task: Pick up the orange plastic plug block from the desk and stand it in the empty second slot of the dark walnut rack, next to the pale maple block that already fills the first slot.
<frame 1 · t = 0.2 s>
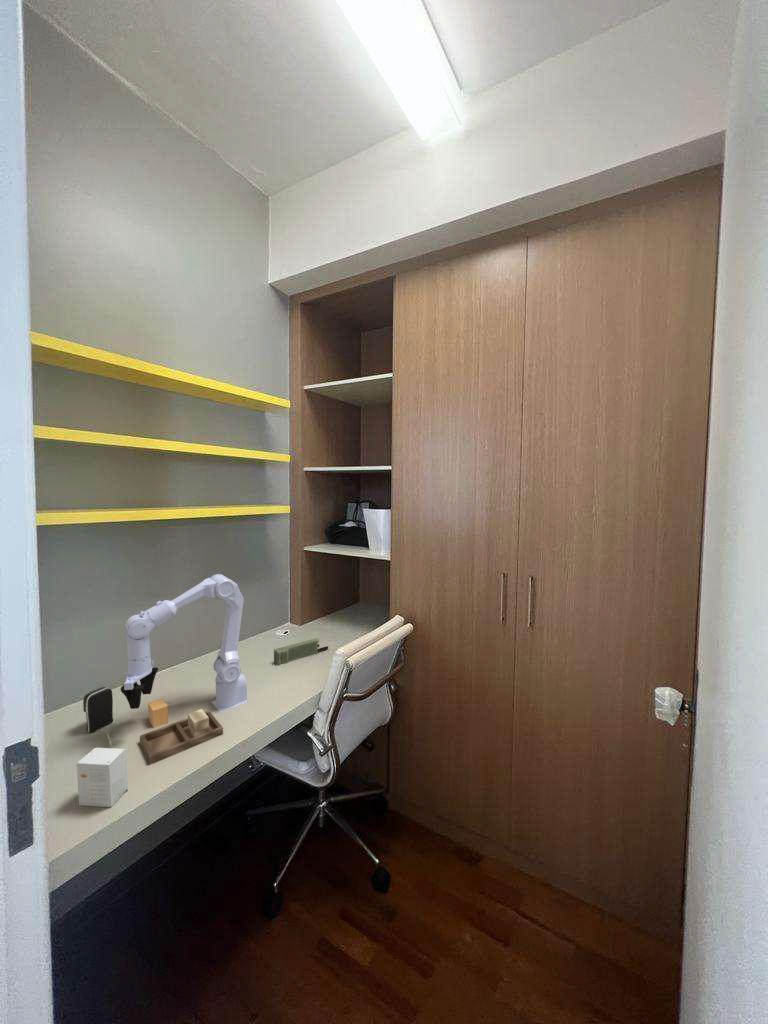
hand: (141, 700, 116), 10 cm above the table, tool pointing down, fingers open, 7 cm apart
slot rack: (182, 740, 114), on the table
plug block: (158, 722, 122), on the table
maple block: (198, 731, 117), point 1 cm above the table, touching slot rack
battery charger: (98, 726, 120), on the table
small box: (103, 798, 93), on the table
handheld radio: (302, 657, 170), on the table
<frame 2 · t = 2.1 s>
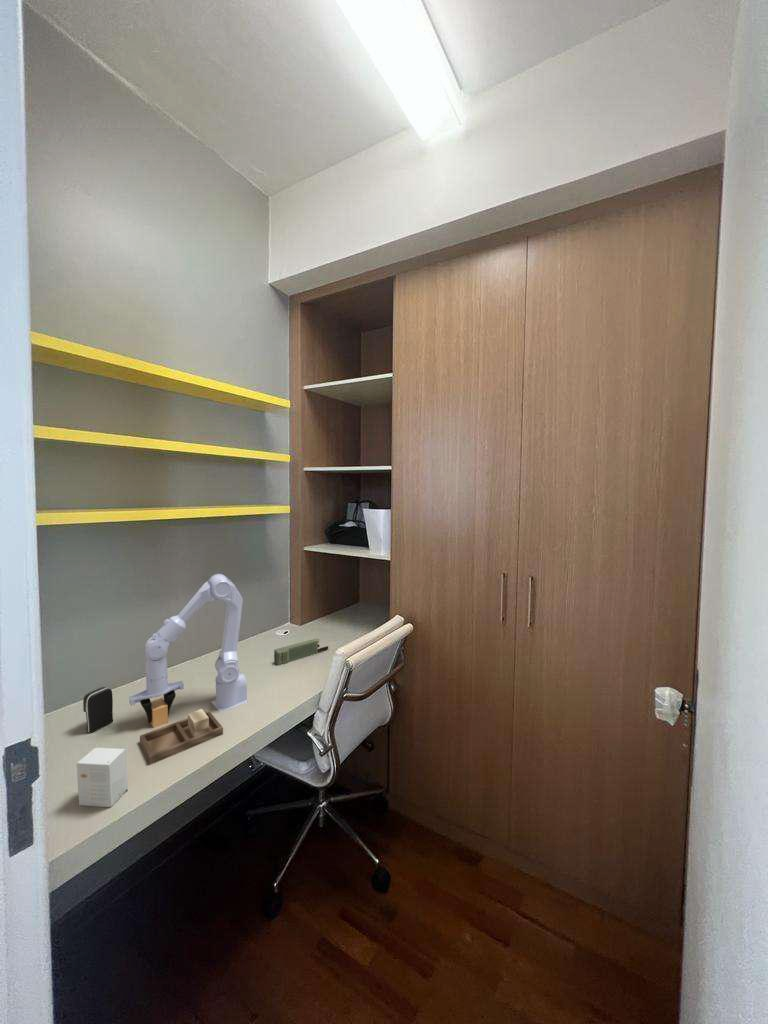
hand: (158, 718, 122), 1 cm above the table, tool pointing down, fingers closed on plug block, 4 cm apart
plug block: (158, 722, 122), on the table, touching gripper
everything else where it was.
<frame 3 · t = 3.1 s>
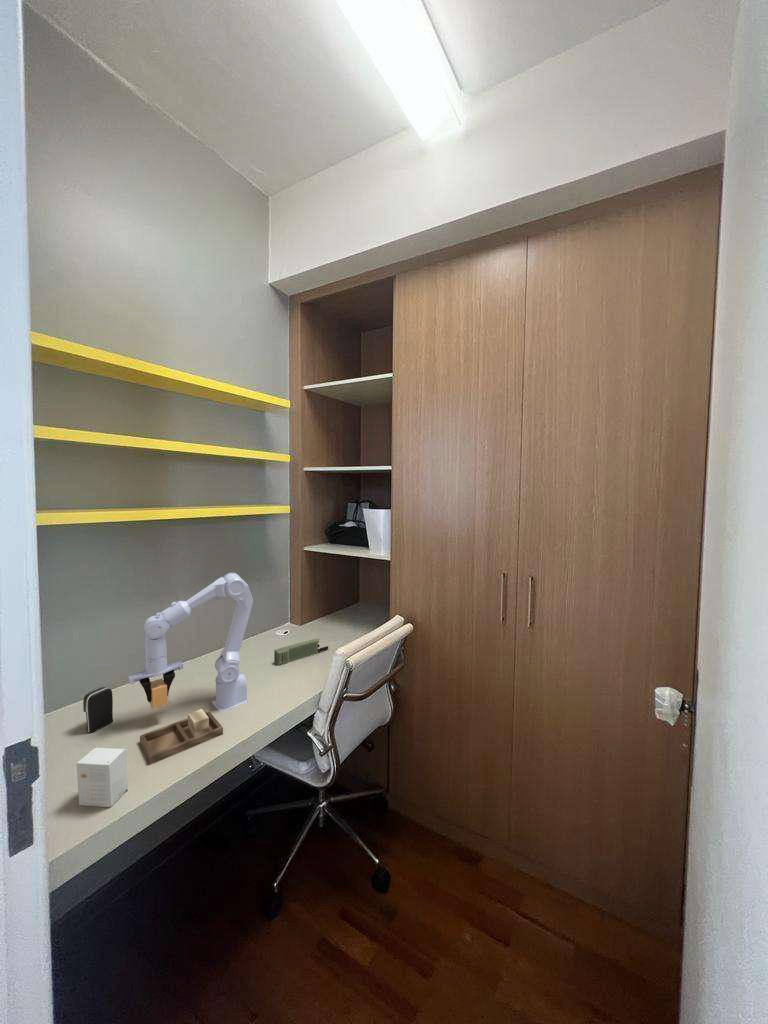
hand: (157, 698, 122), 8 cm above the table, tool pointing down, fingers closed on plug block, 4 cm apart
plug block: (157, 702, 122), point 6 cm above the table, touching gripper
everything else where it was.
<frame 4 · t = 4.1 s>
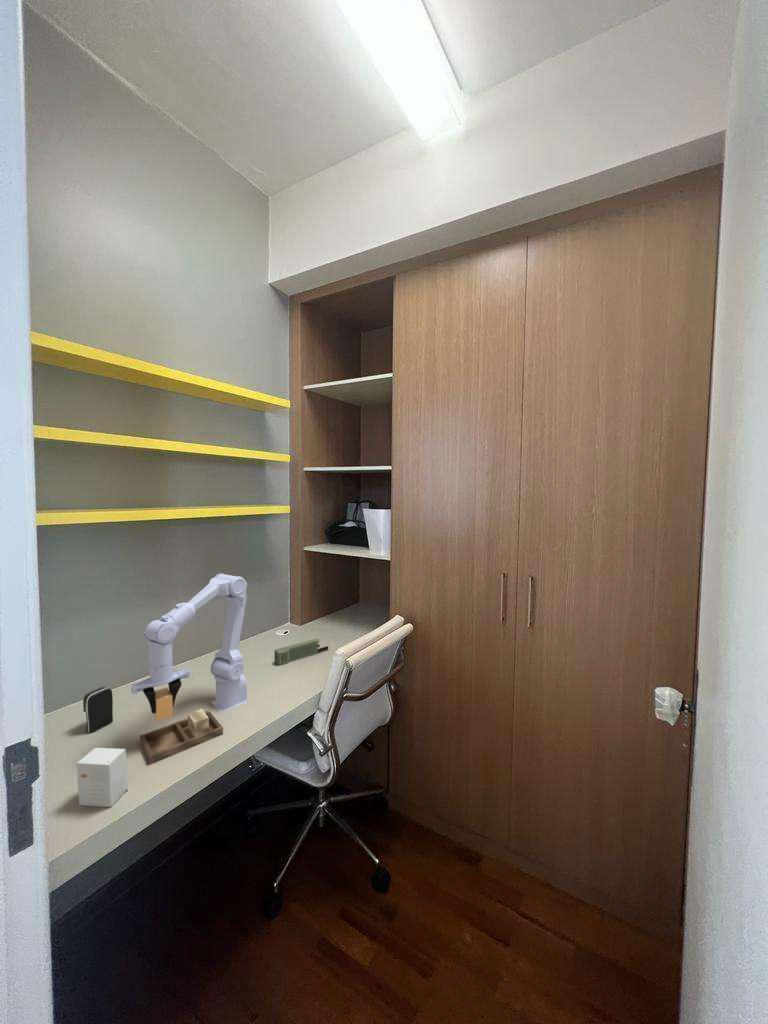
hand: (162, 708, 112), 10 cm above the table, tool pointing down, fingers closed on plug block, 4 cm apart
plug block: (162, 713, 113), point 8 cm above the table, touching gripper
everything else where it was.
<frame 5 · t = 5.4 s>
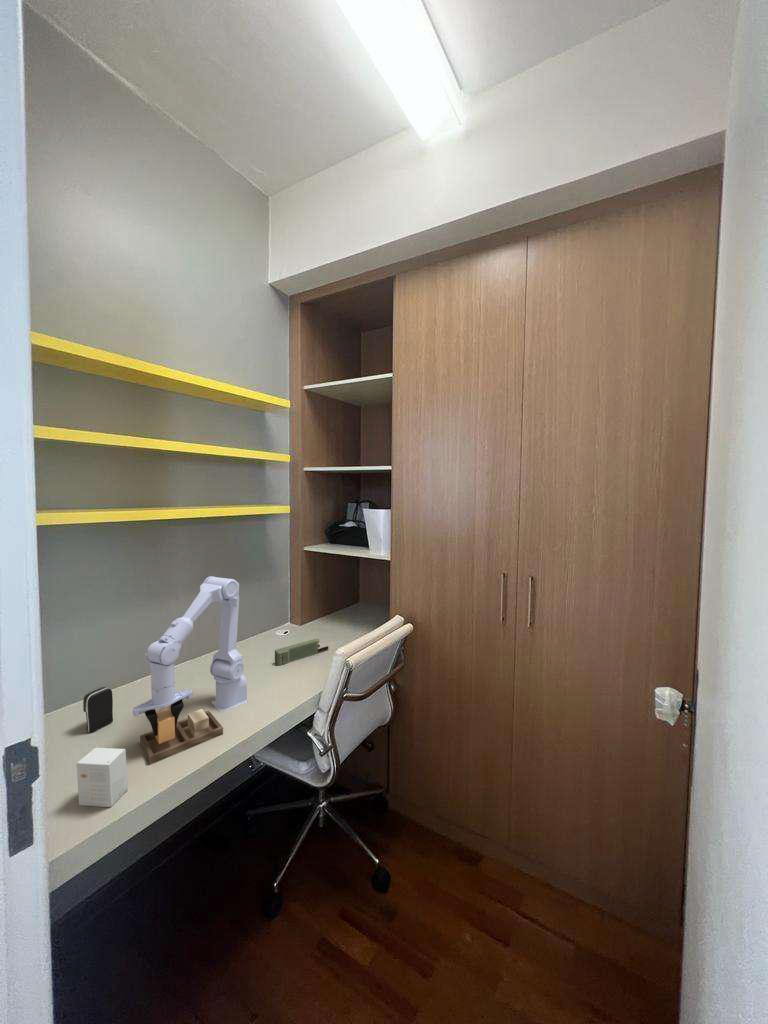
hand: (164, 730, 111), 5 cm above the table, tool pointing down, fingers closed on plug block, 4 cm apart
plug block: (164, 735, 111), point 3 cm above the table, touching gripper
everything else where it was.
when the fingers open (3 cm above the table, at t = 6.1 s): plug block drops 1 cm, resting on slot rack.
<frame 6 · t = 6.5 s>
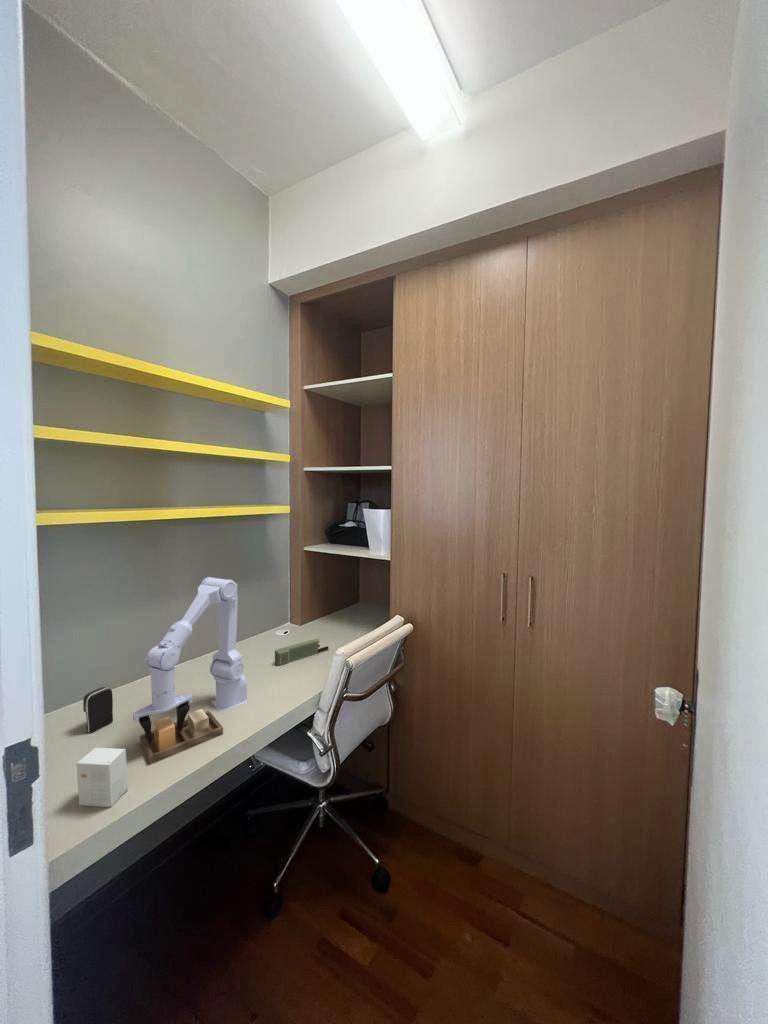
hand: (164, 735, 111), 4 cm above the table, tool pointing down, fingers open, 7 cm apart
plug block: (164, 744, 111), point 1 cm above the table, touching slot rack
everything else where it was.
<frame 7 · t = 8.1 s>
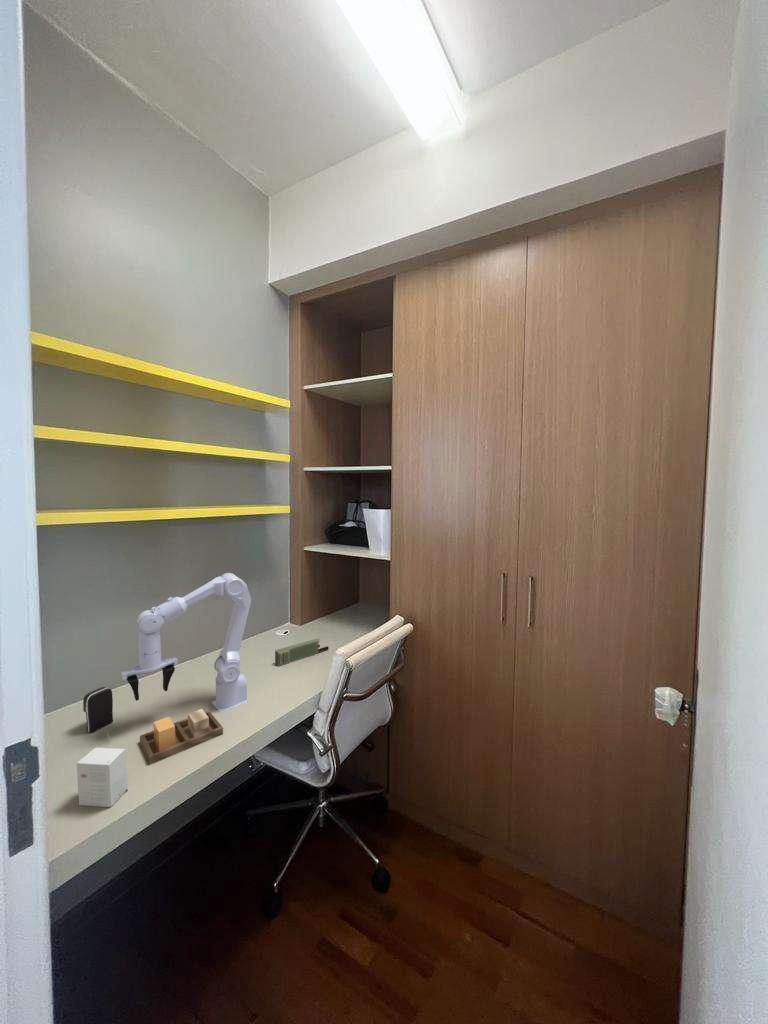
hand: (151, 694, 119), 10 cm above the table, tool pointing down, fingers open, 7 cm apart
nothing on the table moved.
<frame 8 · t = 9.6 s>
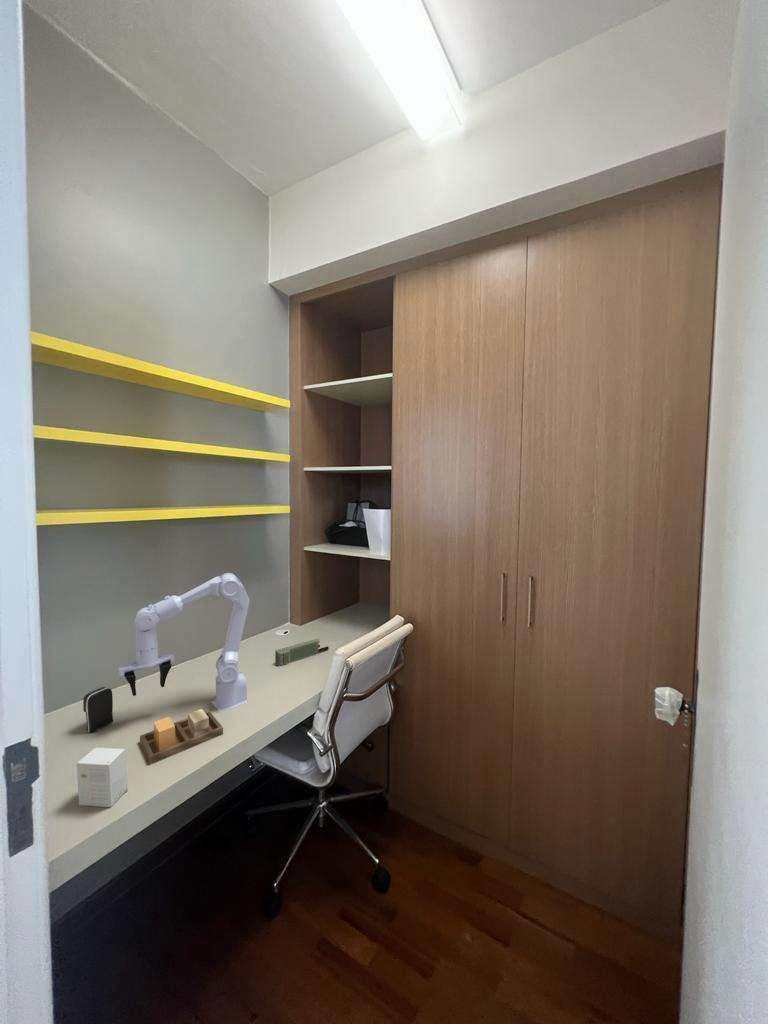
hand: (148, 690, 122), 10 cm above the table, tool pointing down, fingers open, 7 cm apart
nothing on the table moved.
at the end: plug block 0.4 cm from the target spot on the slot rack, point 0.6 cm above the slot rack's base; plug block tilted 0°; the gripper is holding nothing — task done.
